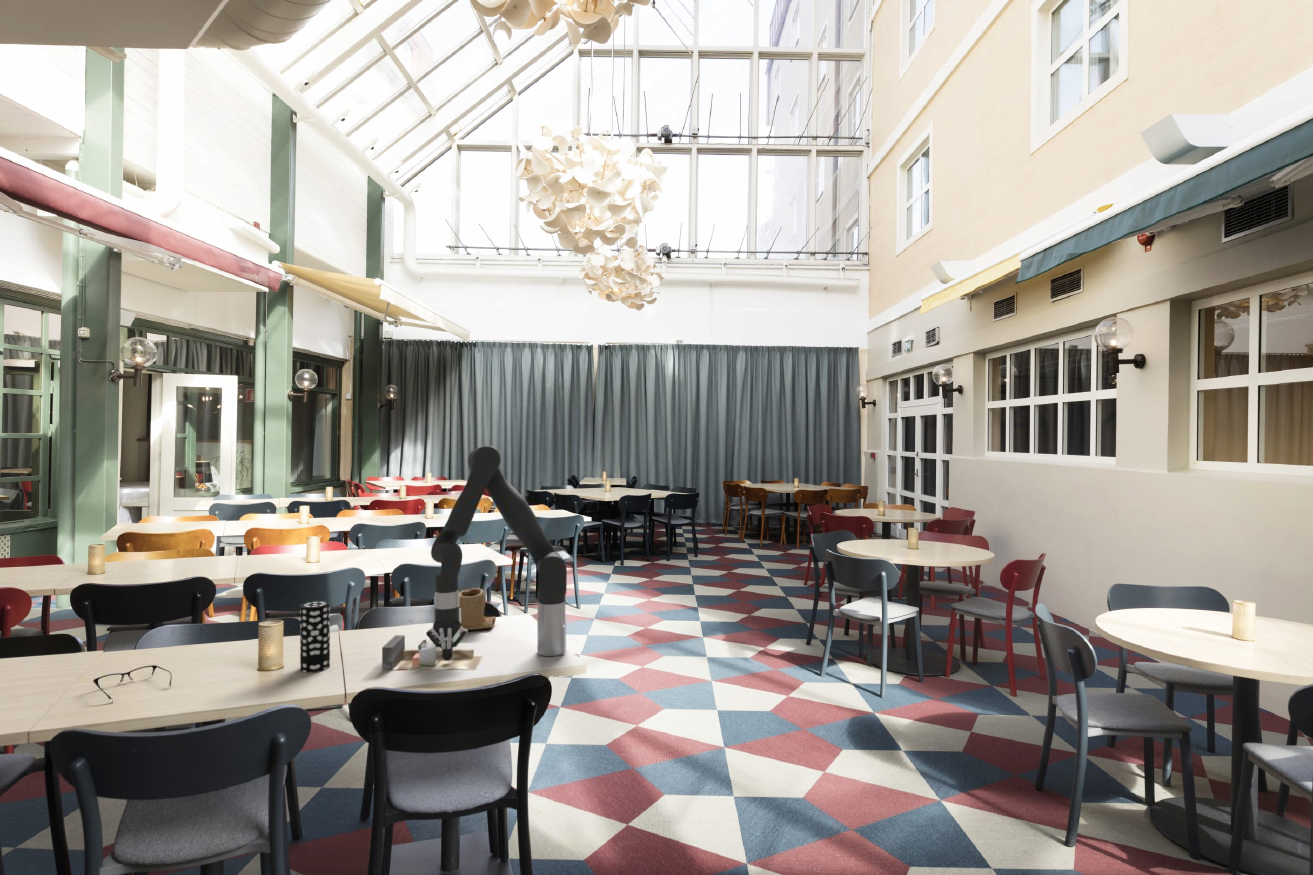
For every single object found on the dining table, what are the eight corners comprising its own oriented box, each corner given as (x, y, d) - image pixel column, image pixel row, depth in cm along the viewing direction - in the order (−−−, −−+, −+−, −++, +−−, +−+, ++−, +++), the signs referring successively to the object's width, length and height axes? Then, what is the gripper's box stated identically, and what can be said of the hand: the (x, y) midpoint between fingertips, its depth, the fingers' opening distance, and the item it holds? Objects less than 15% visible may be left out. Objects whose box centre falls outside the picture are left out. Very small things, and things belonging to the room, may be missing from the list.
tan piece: (453, 635, 251) (454, 594, 251) (454, 625, 263) (454, 586, 262) (496, 632, 255) (497, 591, 255) (495, 623, 267) (495, 584, 266)
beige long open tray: (483, 660, 224) (483, 634, 224) (475, 674, 212) (475, 646, 212) (395, 661, 223) (395, 635, 223) (382, 675, 211) (382, 647, 211)
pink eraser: (423, 660, 220) (423, 653, 219) (420, 665, 216) (420, 657, 216) (416, 661, 219) (416, 653, 219) (412, 665, 215) (412, 657, 215)
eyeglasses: (158, 675, 211) (158, 662, 210) (176, 688, 201) (176, 675, 201) (90, 692, 198) (90, 678, 198) (105, 706, 188) (105, 692, 188)
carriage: (440, 658, 221) (440, 639, 221) (435, 665, 215) (435, 645, 215) (423, 658, 221) (423, 639, 220) (418, 665, 215) (418, 645, 214)
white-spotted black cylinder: (294, 670, 215) (293, 606, 214) (315, 661, 222) (315, 599, 222) (314, 674, 212) (314, 608, 211) (336, 665, 220) (335, 602, 219)
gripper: (470, 601, 221) (471, 655, 222) (428, 602, 221) (429, 656, 221) (465, 607, 214) (466, 663, 214) (422, 608, 213) (422, 664, 214)
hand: (447, 659), depth 218 cm, fingers closed
